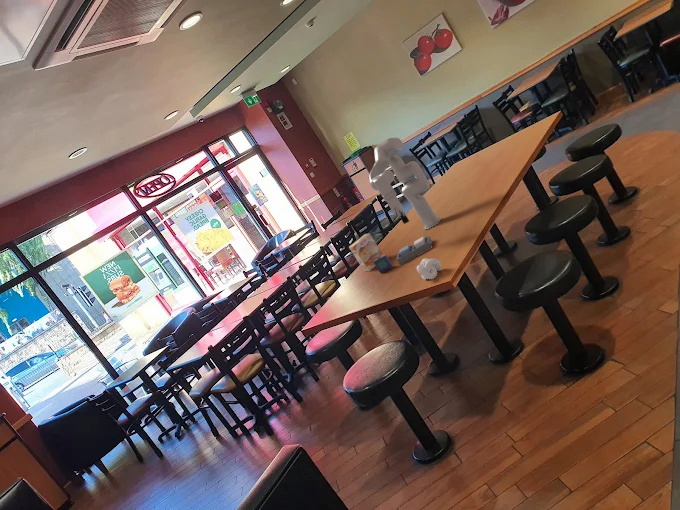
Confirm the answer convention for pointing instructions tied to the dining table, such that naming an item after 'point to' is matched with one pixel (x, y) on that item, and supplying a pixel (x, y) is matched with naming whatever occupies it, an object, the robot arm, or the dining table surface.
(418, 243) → the white key
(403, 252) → the blue key
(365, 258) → the coffeecake box
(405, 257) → the key panel
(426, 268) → the white rounded lump
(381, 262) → the dark blue boxy piece
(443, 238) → the dining table surface
